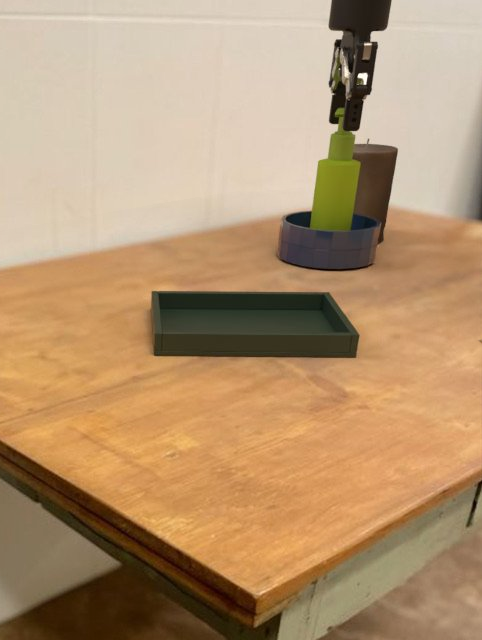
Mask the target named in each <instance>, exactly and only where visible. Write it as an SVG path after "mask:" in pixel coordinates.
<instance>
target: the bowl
mask: <svg viewBox="0 0 482 640" xmlns="http://www.w3.org/2000/svg"><path fill="white" fill-rule="evenodd" d="M311 214H312V210H303V211H295V212H290V213H287V214H284V215H282V217H281V218H280V224H279V235H278V243H277V250H276V251H277V252H276V255H277V256H278V258H279V259H280V260H282V261H284V262H287V263H290V264H293V265H296V266H301V267H304V268H311V269H318V270H319V269H320V270H348V269H349V270H350V269H359V268H362V267H368V266H369V265H372V264H374V263H375V260H376V256H377V249H378V244H379V243H378V238H379V233H380V227H381V222H380V221H379V220H377V219H375V218H373V217H370V216H366V215H361V214H357V213H353V216H352V223H351V229H350V230H320V229H312V228H310V222H311Z"/></svg>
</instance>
